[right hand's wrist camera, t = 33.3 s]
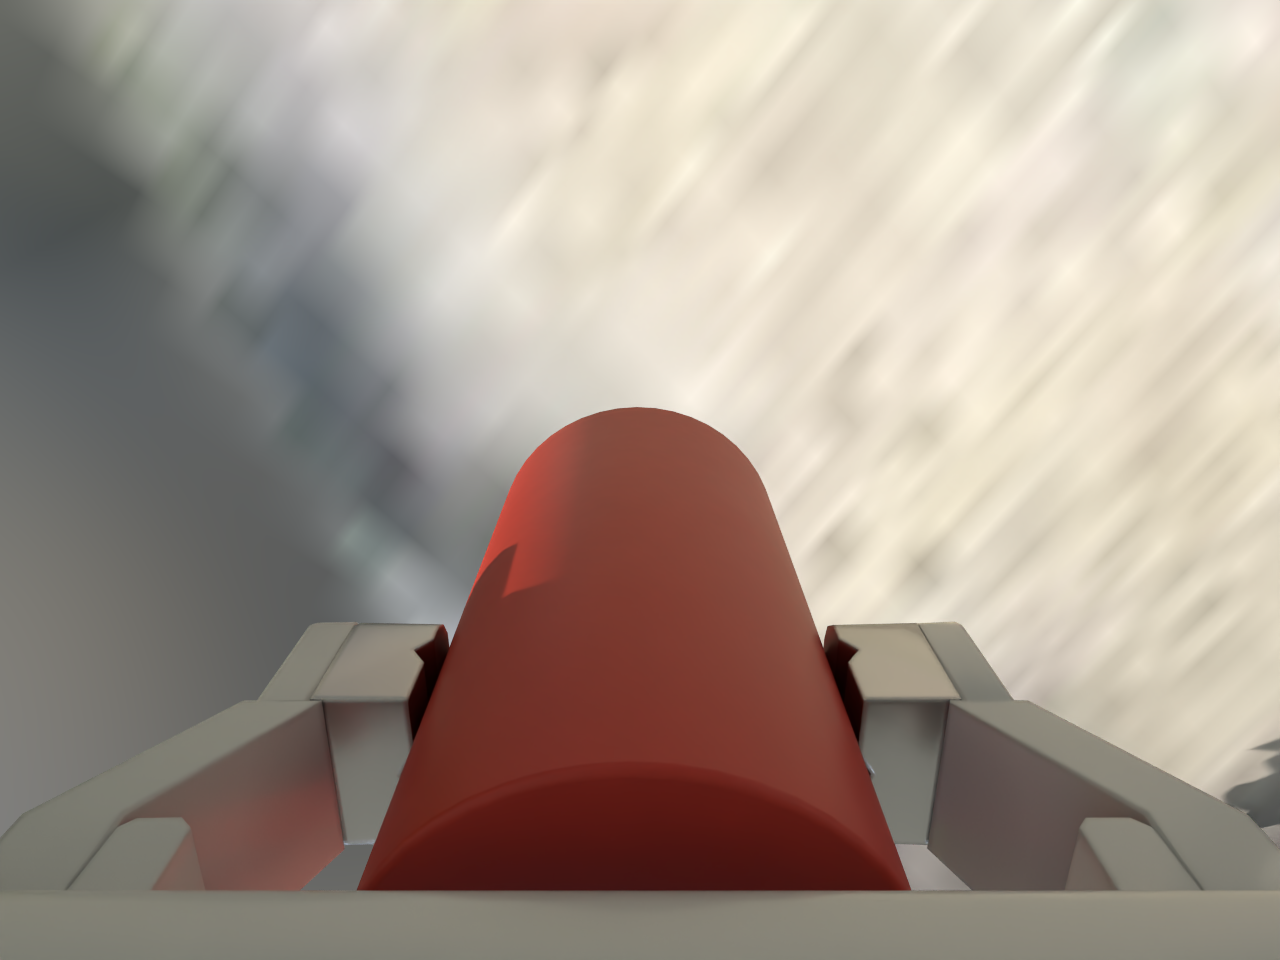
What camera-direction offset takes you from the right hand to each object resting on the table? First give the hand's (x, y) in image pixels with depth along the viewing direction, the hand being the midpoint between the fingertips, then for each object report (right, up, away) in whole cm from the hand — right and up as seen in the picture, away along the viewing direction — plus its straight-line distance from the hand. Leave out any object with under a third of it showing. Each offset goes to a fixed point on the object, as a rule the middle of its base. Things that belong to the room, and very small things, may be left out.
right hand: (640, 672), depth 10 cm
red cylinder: (0, +1, +4) cm, 4 cm away
